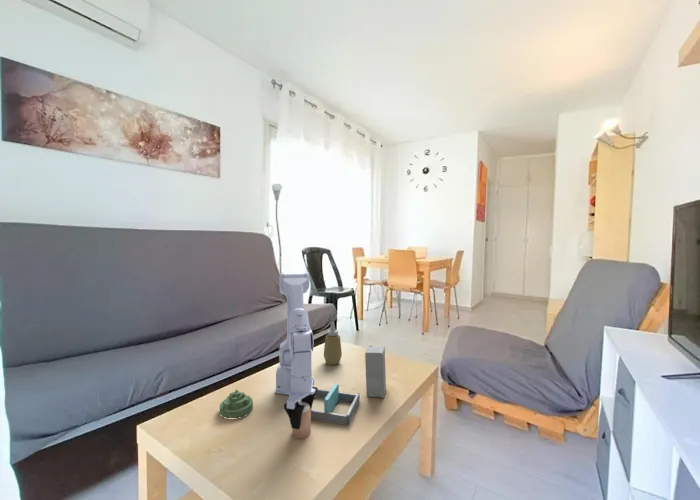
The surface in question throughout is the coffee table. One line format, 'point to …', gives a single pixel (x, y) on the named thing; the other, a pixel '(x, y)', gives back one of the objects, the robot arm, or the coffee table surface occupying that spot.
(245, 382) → the coffee table surface
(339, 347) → the squeeze bottle
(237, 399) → the decorative artifact
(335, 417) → the grey tray
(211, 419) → the coffee table surface
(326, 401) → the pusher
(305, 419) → the jar
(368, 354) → the skincare box
